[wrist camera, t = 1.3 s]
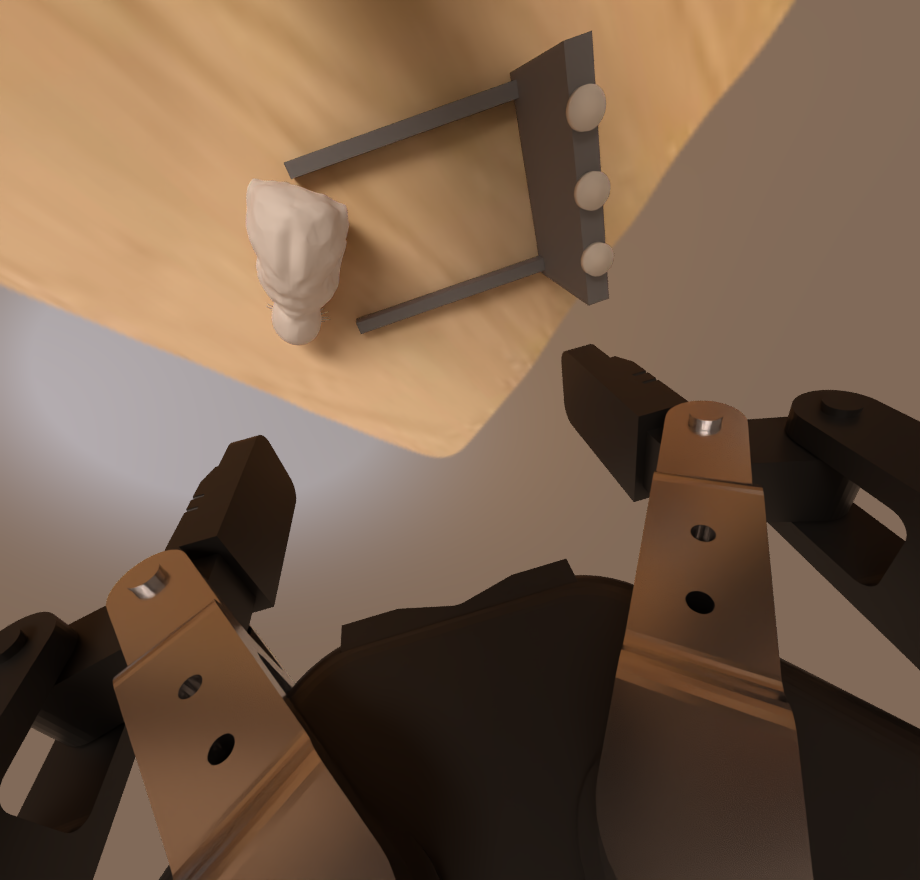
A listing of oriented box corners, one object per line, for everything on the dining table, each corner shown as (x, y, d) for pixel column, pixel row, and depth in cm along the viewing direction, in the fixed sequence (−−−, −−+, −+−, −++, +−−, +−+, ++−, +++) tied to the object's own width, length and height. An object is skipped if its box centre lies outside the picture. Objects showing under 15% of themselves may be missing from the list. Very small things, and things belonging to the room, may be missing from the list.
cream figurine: (349, 210, 24) (329, 381, 31) (355, 186, 31) (337, 332, 38) (230, 176, 23) (237, 366, 30) (264, 158, 29) (263, 317, 36)
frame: (533, 64, 29) (601, 25, 20) (559, 266, 37) (616, 299, 28) (282, 154, 29) (245, 153, 21) (363, 334, 37) (360, 387, 29)
